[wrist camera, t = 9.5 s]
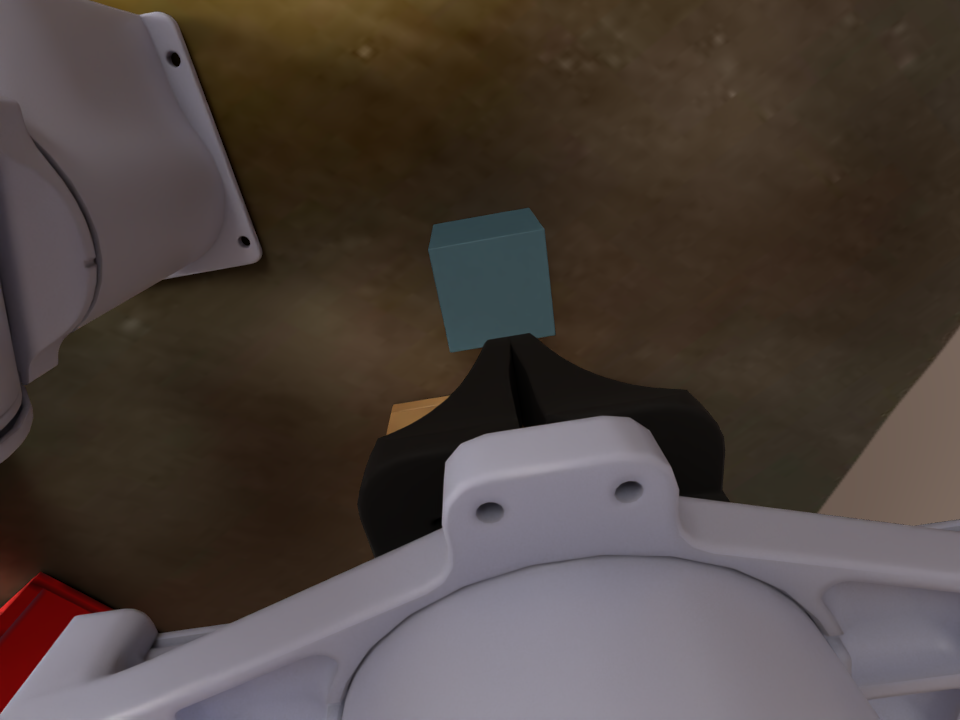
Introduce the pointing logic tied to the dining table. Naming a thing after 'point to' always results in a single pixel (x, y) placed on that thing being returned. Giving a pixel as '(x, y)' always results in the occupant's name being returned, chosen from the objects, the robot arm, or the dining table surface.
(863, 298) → the dining table surface
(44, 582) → the french fries container
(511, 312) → the block
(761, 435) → the dining table surface
